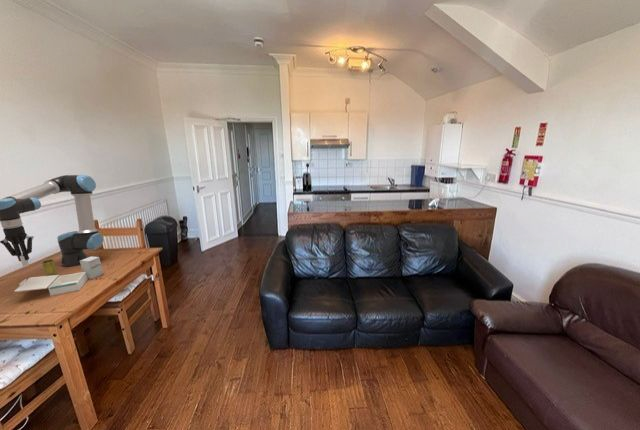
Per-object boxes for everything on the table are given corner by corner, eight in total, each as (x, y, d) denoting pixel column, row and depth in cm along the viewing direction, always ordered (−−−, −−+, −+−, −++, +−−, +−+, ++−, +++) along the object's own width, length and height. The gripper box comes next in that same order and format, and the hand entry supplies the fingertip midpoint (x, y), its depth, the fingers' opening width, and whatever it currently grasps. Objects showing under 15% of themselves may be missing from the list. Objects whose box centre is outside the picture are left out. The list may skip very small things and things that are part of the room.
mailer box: (61, 283, 167) (59, 276, 165) (87, 278, 172) (85, 271, 171) (50, 296, 153) (48, 287, 151) (79, 290, 158) (77, 282, 157)
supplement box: (92, 279, 172) (88, 261, 168) (83, 278, 173) (78, 260, 170) (103, 273, 179) (99, 256, 175) (95, 273, 180) (90, 256, 177)
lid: (58, 272, 165) (59, 275, 166) (29, 274, 159) (30, 278, 160) (45, 285, 150) (46, 288, 150) (13, 288, 144) (14, 292, 145)
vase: (63, 279, 171) (57, 259, 168) (51, 284, 166) (44, 263, 162) (57, 278, 173) (51, 258, 169) (45, 283, 168) (38, 262, 164)
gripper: (-9, 230, 139) (6, 270, 145) (25, 226, 144) (38, 265, 151) (0, 226, 145) (14, 265, 151) (32, 223, 151) (44, 260, 157)
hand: (26, 265), depth 151 cm, fingers closed
